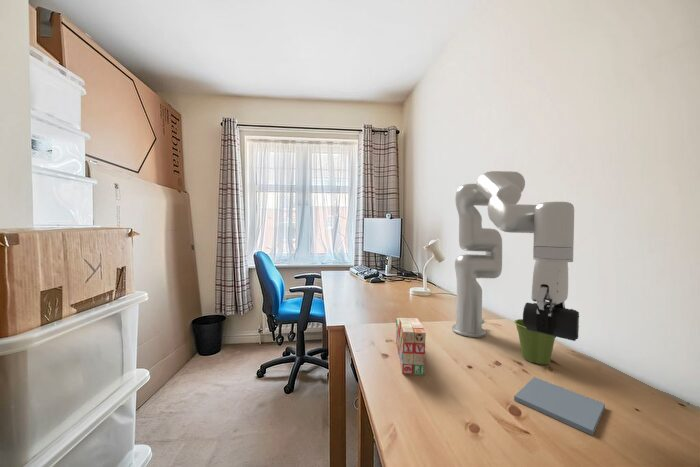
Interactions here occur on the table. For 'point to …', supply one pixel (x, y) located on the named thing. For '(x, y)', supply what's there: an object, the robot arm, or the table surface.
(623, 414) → the table surface
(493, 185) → the robot arm
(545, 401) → the slate mat
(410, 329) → the stack of blocks
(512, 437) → the table surface
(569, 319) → the end cap
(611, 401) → the table surface
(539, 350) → the plant pot
